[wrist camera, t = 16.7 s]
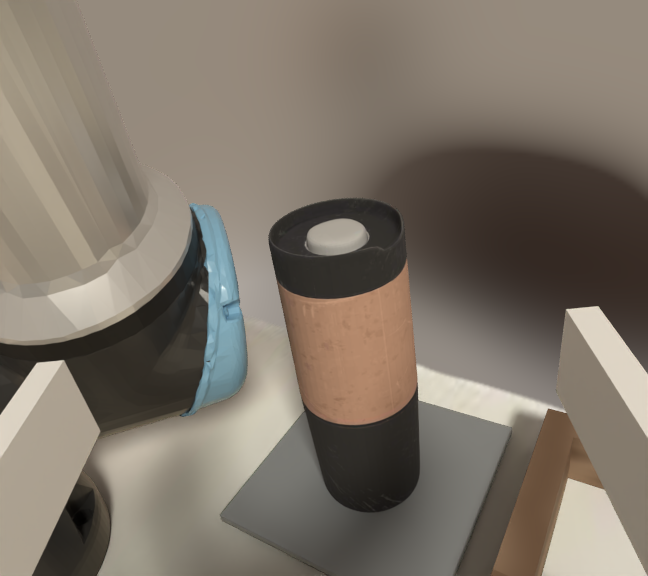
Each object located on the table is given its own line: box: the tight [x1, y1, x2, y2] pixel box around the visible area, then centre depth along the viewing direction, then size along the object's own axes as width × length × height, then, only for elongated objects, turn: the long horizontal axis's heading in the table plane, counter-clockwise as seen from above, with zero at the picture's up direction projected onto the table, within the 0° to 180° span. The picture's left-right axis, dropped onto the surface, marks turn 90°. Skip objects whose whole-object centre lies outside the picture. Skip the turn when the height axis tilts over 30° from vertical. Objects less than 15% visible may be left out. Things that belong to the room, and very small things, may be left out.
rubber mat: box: [220, 400, 512, 576], centre depth 40 cm, size 16×16×1 cm
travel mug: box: [269, 198, 420, 513], centre depth 34 cm, size 8×8×20 cm
